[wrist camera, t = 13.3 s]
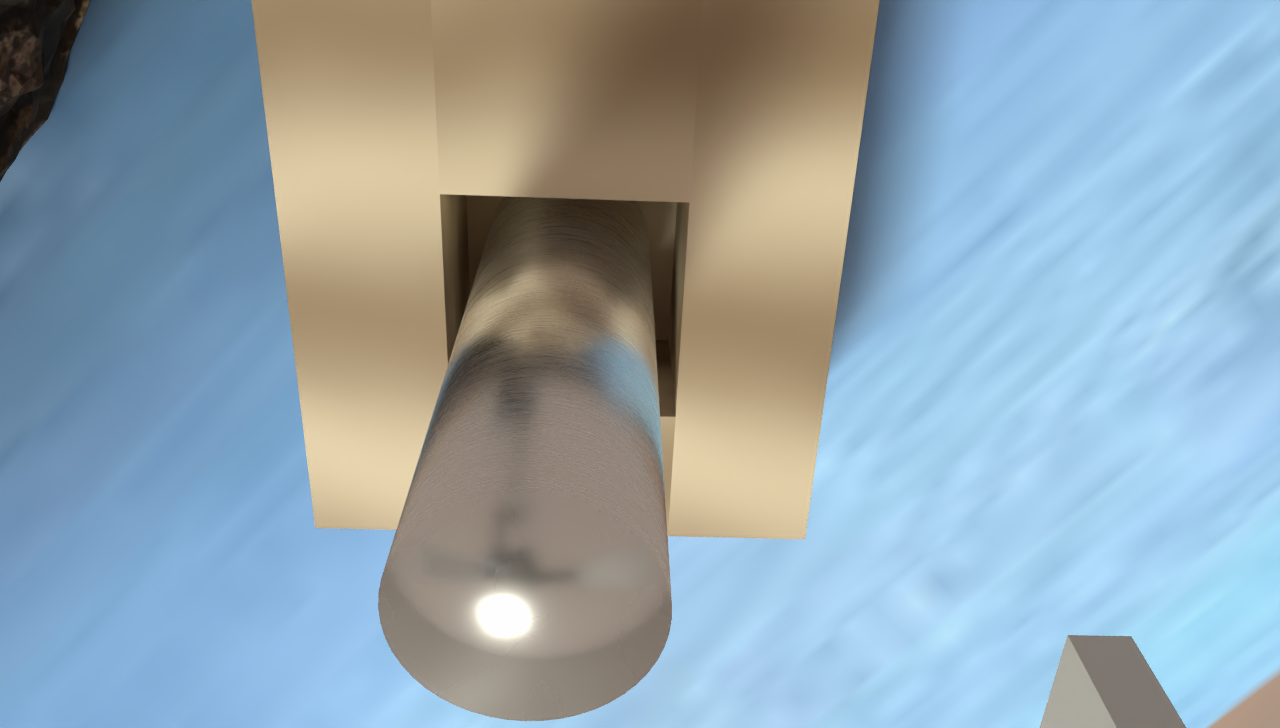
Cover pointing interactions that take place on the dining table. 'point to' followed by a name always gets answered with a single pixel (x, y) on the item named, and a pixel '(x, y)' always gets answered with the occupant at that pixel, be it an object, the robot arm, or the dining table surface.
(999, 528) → the dining table surface
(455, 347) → the steel pin
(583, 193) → the hole block
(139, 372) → the dining table surface
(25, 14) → the pine cone
